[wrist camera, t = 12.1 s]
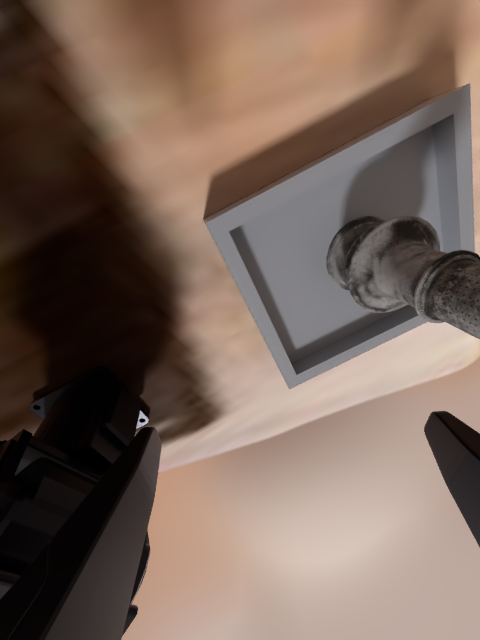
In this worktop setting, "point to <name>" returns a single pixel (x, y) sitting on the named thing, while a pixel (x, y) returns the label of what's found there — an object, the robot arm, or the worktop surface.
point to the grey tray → (333, 214)
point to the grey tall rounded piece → (406, 271)
